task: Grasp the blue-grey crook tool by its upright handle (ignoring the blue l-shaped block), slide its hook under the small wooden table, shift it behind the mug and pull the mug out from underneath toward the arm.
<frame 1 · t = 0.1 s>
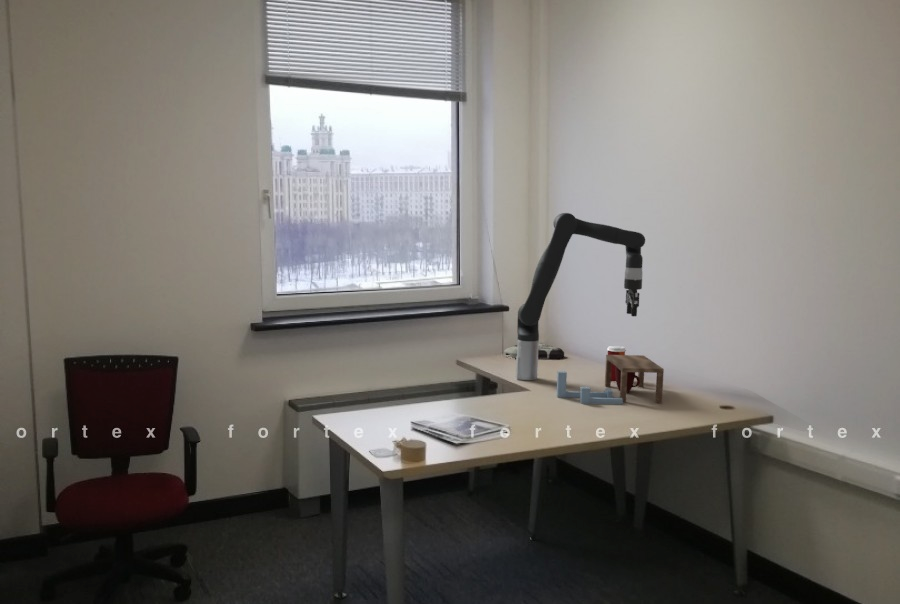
hand: (631, 315, 343), 29 cm above the table, fingers open, 8 cm apart
rake: (561, 396, 312), on the table
small wooden table: (632, 394, 319), on the table
blue l-shaped block: (601, 403, 302), on the table
mug: (627, 392, 323), on the table
coffee cup: (614, 380, 346), on the table
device: (537, 356, 405), on the table
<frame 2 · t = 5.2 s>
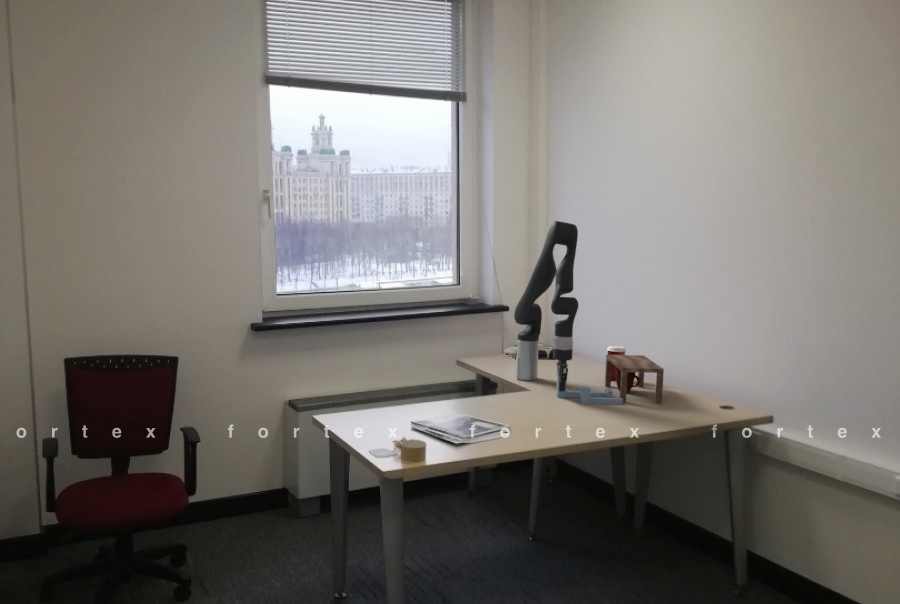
hand: (561, 389, 311), 3 cm above the table, fingers closed on rake, 3 cm apart
rake: (561, 396, 312), on the table, touching gripper
everything else where it was.
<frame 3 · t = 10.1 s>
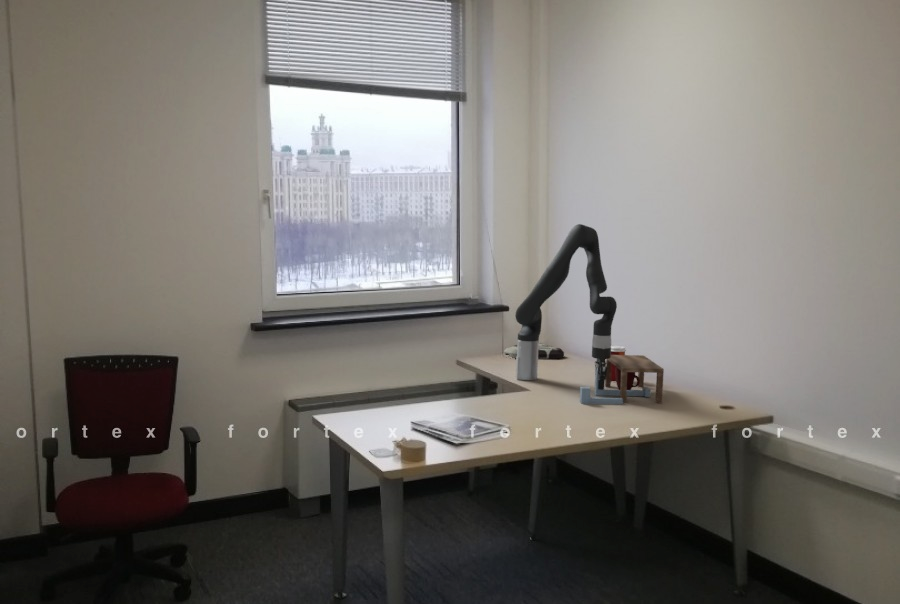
hand: (599, 388, 316), 3 cm above the table, fingers closed on rake, 3 cm apart
rake: (599, 394, 317), on the table, touching gripper
everything else where it was.
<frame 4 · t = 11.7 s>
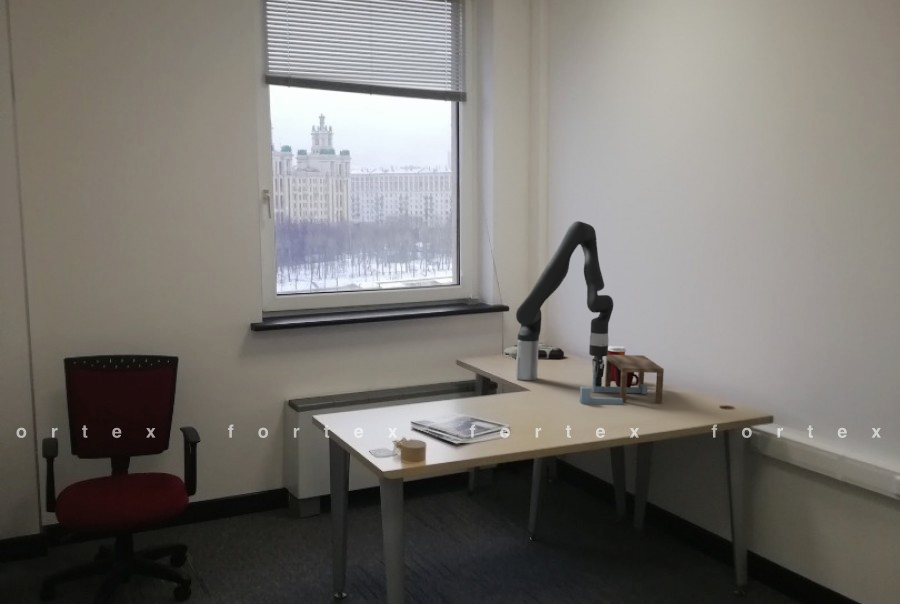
hand: (597, 385, 322), 3 cm above the table, fingers closed on rake, 3 cm apart
rake: (596, 391, 322), on the table, touching gripper, mug
mug: (626, 391, 325), on the table, touching rake
everything else where it was.
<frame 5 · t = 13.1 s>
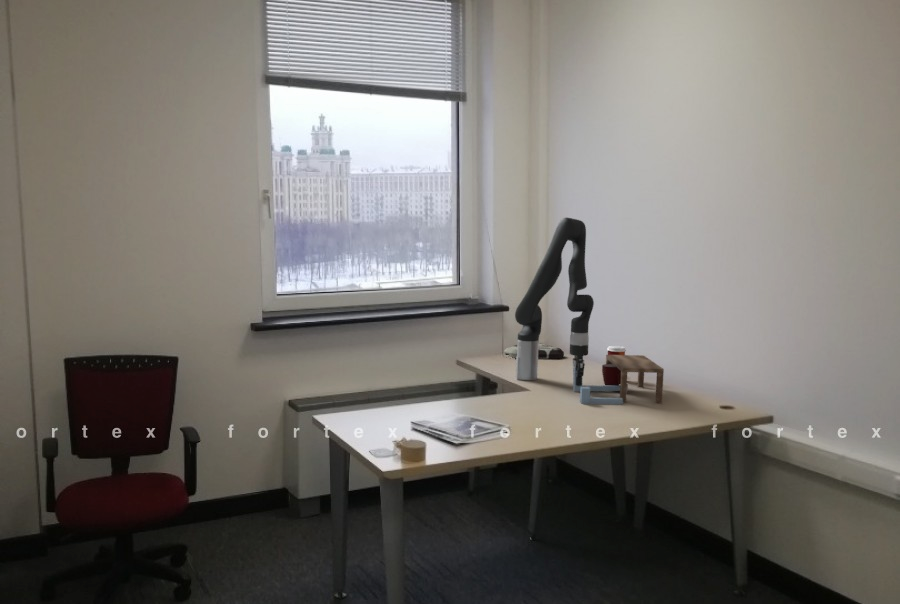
hand: (577, 384, 322), 3 cm above the table, fingers closed on rake, 3 cm apart
rake: (577, 390, 323), on the table, touching gripper, mug
mug: (613, 390, 326), on the table, touching rake
everything else where it was.
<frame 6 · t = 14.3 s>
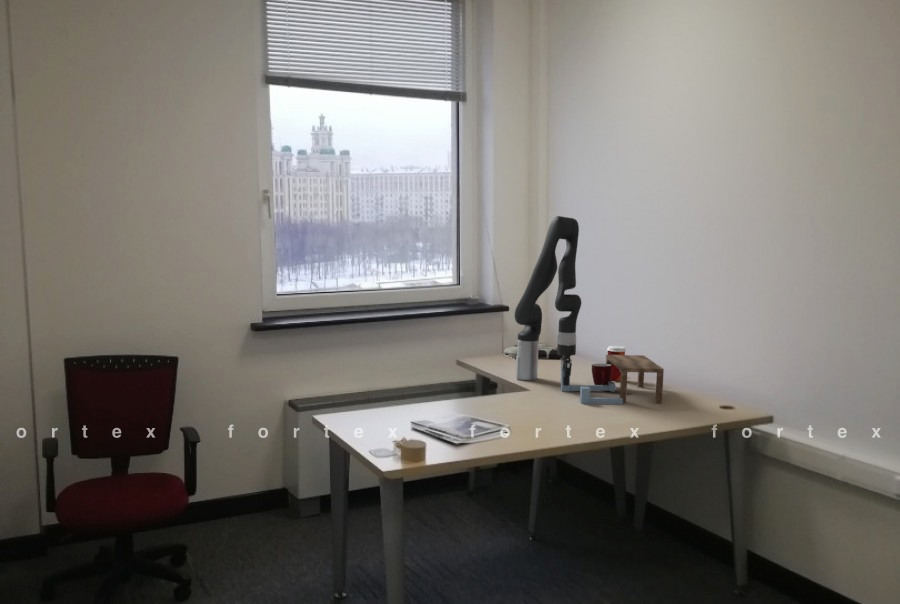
hand: (565, 384, 322), 3 cm above the table, fingers closed on rake, 3 cm apart
rake: (565, 390, 322), on the table, touching gripper, mug
mug: (602, 389, 326), on the table, touching rake
everything else where it was.
when the fingers open (3 cm above the table, at t = 15.3 s): rake stays where it is, on the table.
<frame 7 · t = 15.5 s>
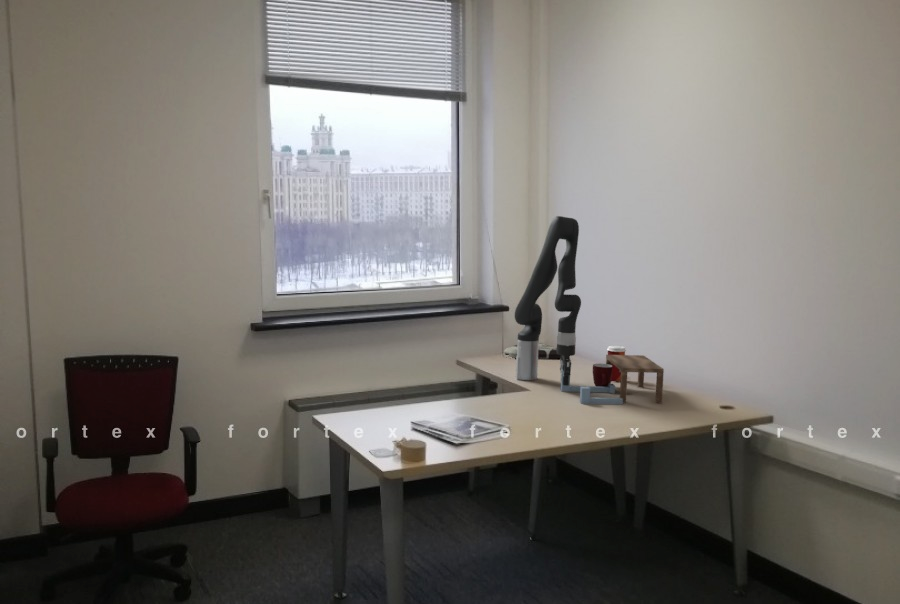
hand: (564, 383, 322), 3 cm above the table, fingers open, 5 cm apart
rake: (565, 390, 322), on the table
mug: (602, 390, 326), on the table
everything else where it was.
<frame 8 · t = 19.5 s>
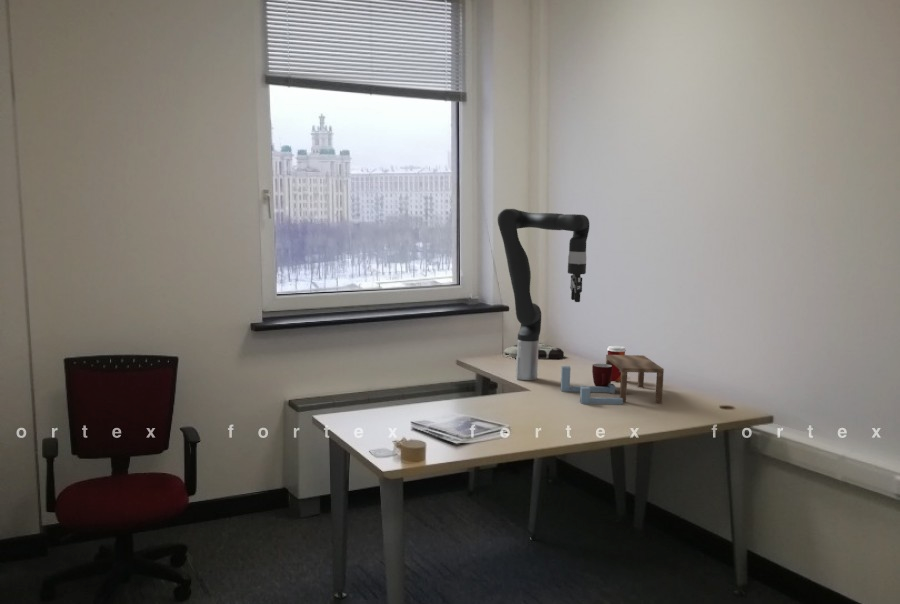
hand: (575, 300, 330), 36 cm above the table, fingers open, 8 cm apart
nothing on the table moved.
at the end: mug inside the target area (6.4 cm from its centre), on the table; mug tilted 0°; mug moved 10.3 cm from its start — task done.
